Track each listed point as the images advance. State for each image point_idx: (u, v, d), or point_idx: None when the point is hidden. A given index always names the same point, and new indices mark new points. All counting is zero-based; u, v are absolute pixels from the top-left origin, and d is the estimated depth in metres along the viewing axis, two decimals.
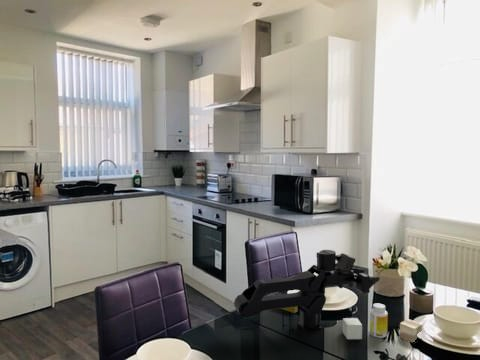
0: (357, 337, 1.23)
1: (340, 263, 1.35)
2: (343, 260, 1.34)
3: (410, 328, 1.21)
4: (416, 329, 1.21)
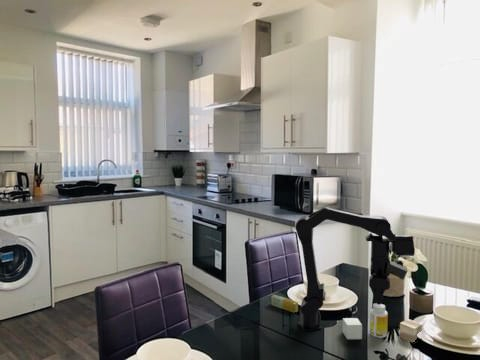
0: (357, 337, 1.23)
1: (395, 263, 1.24)
2: (400, 266, 1.22)
3: (410, 328, 1.21)
4: (416, 329, 1.21)
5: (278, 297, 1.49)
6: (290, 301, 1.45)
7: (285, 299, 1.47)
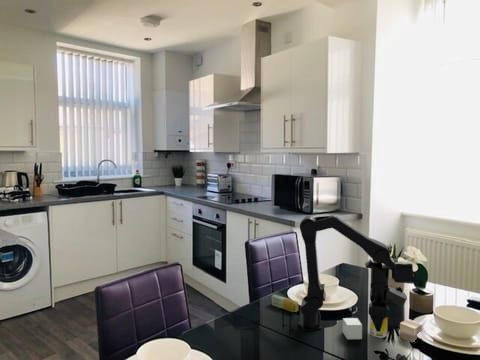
0: (357, 337, 1.23)
1: (395, 290, 1.24)
2: (399, 293, 1.23)
3: (410, 328, 1.21)
4: (416, 329, 1.21)
5: (278, 297, 1.49)
6: (290, 301, 1.45)
7: (285, 299, 1.47)
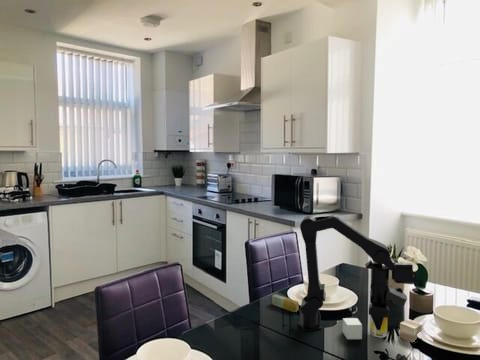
0: (357, 337, 1.23)
1: (395, 291, 1.24)
2: (399, 294, 1.23)
3: (410, 328, 1.21)
4: (416, 329, 1.21)
5: (279, 297, 1.50)
6: (291, 301, 1.46)
7: (286, 299, 1.48)
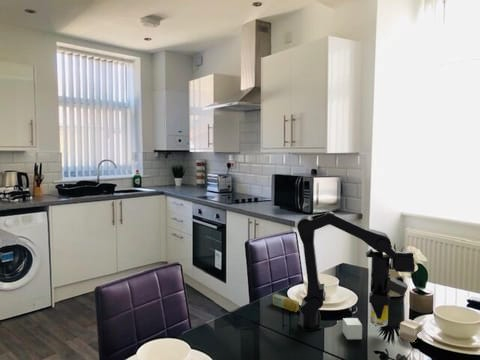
0: (357, 337, 1.23)
1: (395, 279, 1.24)
2: (400, 283, 1.22)
3: (410, 328, 1.21)
4: (416, 329, 1.21)
5: (279, 296, 1.50)
6: (291, 301, 1.46)
7: (286, 298, 1.48)
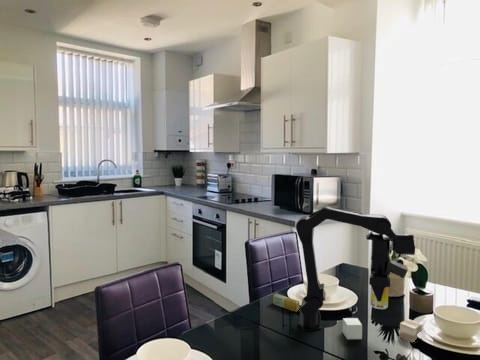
0: (357, 337, 1.23)
1: (396, 262, 1.24)
2: (400, 265, 1.22)
3: (410, 328, 1.21)
4: (416, 329, 1.21)
5: (280, 296, 1.50)
6: (292, 300, 1.46)
7: (287, 298, 1.48)
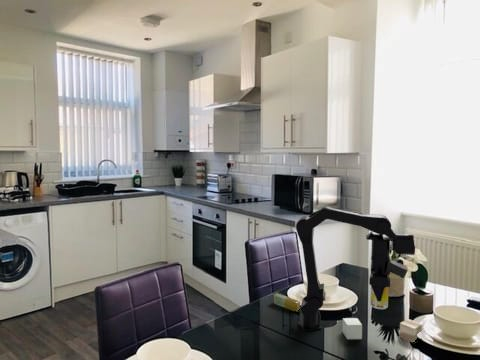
0: (357, 337, 1.23)
1: (396, 262, 1.24)
2: (400, 265, 1.22)
3: (410, 328, 1.21)
4: (416, 329, 1.21)
5: (280, 296, 1.50)
6: (292, 300, 1.46)
7: (287, 298, 1.48)
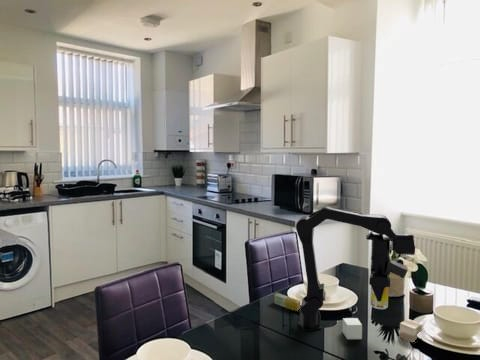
0: (357, 337, 1.23)
1: (396, 262, 1.24)
2: (400, 265, 1.22)
3: (410, 328, 1.21)
4: (416, 329, 1.21)
5: (281, 296, 1.51)
6: (292, 300, 1.47)
7: (288, 298, 1.49)
